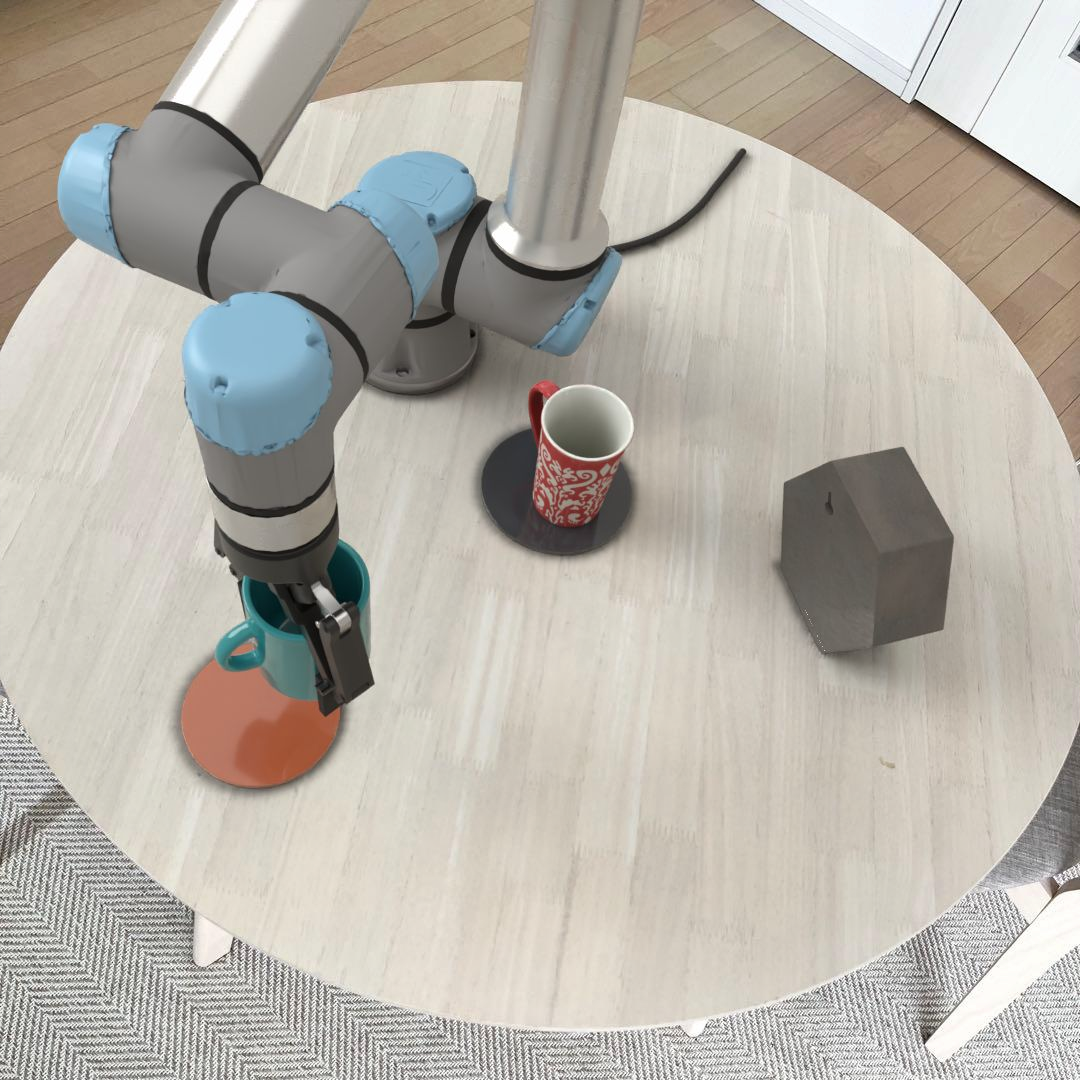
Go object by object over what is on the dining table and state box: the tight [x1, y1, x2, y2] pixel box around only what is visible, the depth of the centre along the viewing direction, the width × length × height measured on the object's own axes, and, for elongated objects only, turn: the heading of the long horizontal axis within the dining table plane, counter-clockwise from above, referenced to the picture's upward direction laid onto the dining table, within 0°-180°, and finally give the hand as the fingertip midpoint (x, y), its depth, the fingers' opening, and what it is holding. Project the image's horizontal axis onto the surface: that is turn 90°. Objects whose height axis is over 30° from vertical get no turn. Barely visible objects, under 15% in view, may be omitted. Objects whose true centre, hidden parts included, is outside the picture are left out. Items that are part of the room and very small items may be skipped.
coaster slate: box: [480, 427, 633, 556], centre depth 119 cm, size 16×16×1 cm
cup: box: [214, 538, 372, 701], centre depth 85 cm, size 9×12×11 cm
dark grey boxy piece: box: [780, 446, 955, 654], centre depth 109 cm, size 17×8×21 cm
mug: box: [527, 379, 636, 527], centre depth 113 cm, size 13×9×14 cm
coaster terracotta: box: [180, 642, 341, 789], centre depth 102 cm, size 14×14×1 cm
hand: (298, 658), depth 89 cm, fingers closed on cup, 9 cm apart
